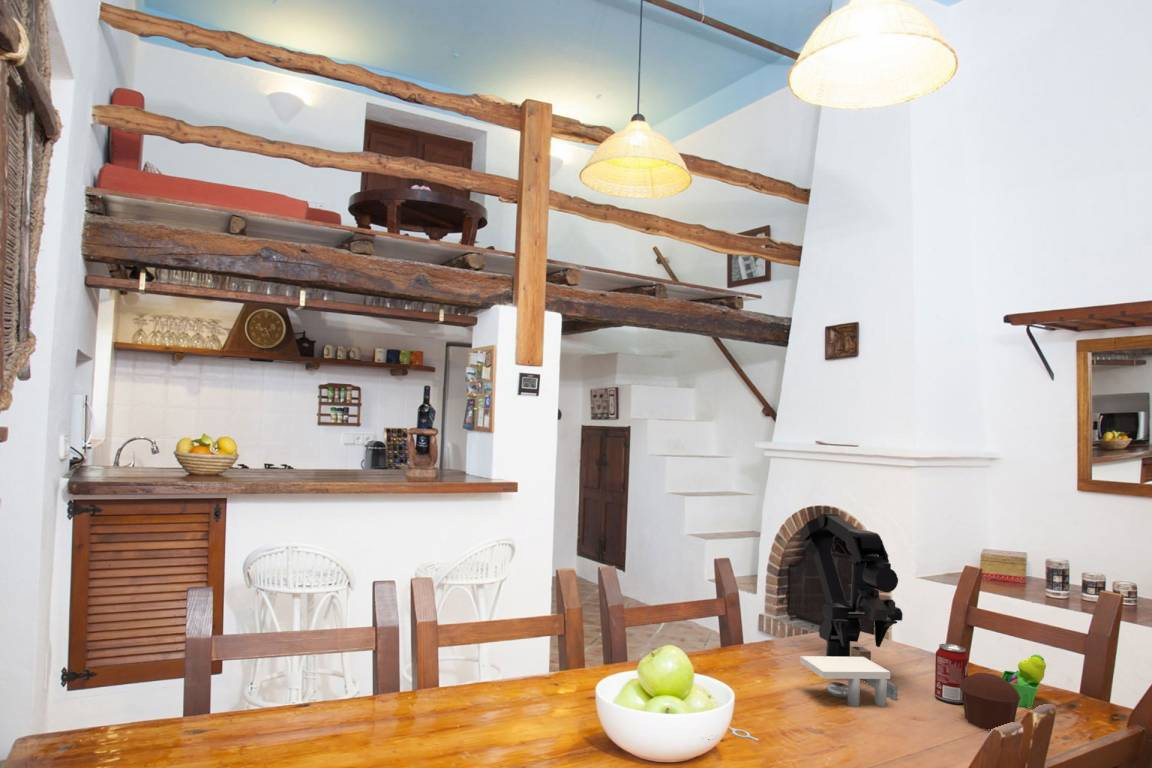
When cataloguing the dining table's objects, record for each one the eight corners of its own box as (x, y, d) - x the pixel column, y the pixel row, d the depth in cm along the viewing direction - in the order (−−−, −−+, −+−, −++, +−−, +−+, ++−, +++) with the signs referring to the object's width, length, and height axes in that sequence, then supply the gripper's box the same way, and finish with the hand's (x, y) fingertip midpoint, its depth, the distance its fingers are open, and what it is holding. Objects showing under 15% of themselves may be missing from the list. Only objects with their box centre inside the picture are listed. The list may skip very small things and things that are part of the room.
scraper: (850, 675, 191) (851, 646, 191) (861, 675, 191) (862, 646, 191) (889, 699, 174) (890, 668, 174) (901, 699, 174) (902, 668, 175)
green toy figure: (1003, 690, 186) (1005, 643, 186) (1046, 700, 181) (1047, 651, 181) (998, 703, 176) (1000, 653, 177) (1043, 713, 171) (1044, 662, 172)
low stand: (799, 688, 178) (800, 656, 178) (862, 689, 180) (863, 656, 181) (822, 706, 167) (823, 671, 167) (889, 706, 169) (890, 672, 170)
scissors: (707, 742, 143) (670, 702, 163) (707, 746, 143) (669, 706, 163) (759, 739, 146) (716, 700, 165) (758, 744, 146) (716, 704, 165)
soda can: (963, 707, 172) (965, 653, 172) (931, 699, 176) (933, 646, 176) (969, 700, 177) (971, 647, 178) (937, 692, 181) (939, 641, 182)
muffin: (1028, 727, 162) (1029, 679, 162) (1008, 739, 155) (1010, 688, 155) (969, 709, 171) (971, 664, 171) (948, 719, 163) (950, 672, 164)
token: (822, 691, 177) (823, 682, 178) (842, 690, 178) (842, 682, 179) (834, 699, 173) (834, 690, 173) (854, 699, 174) (854, 690, 174)
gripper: (845, 589, 181) (842, 656, 180) (917, 591, 184) (914, 657, 183) (822, 579, 192) (819, 642, 191) (890, 581, 195) (888, 643, 194)
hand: (860, 646), depth 189 cm, fingers open, 9 cm apart
